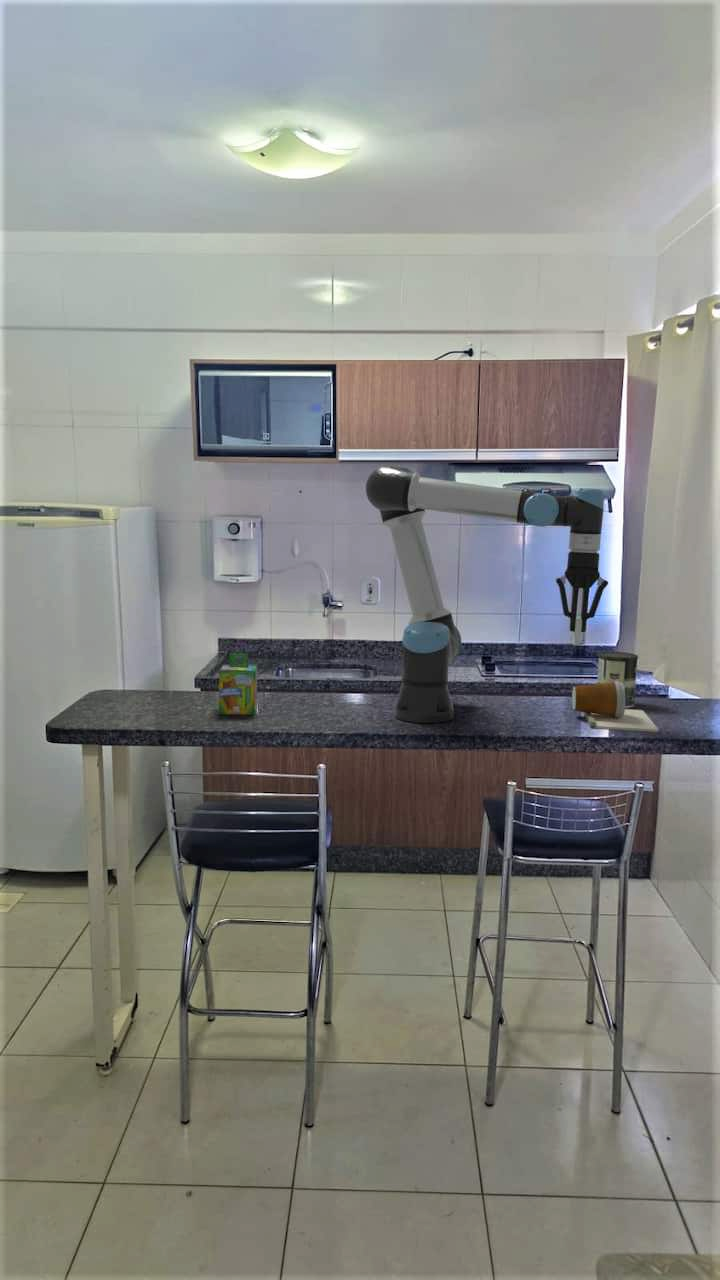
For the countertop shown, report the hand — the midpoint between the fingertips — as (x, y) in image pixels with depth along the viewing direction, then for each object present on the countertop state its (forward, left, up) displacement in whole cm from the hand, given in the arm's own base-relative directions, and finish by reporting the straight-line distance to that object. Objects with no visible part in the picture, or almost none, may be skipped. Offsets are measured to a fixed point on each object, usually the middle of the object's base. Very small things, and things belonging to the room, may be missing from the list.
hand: (576, 644), depth 203 cm
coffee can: (+13, +18, -19) cm, 30 cm away
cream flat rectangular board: (+11, 0, -19) cm, 22 cm away
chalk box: (-85, -14, -19) cm, 88 cm away
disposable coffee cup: (0, 0, -14) cm, 14 cm away
